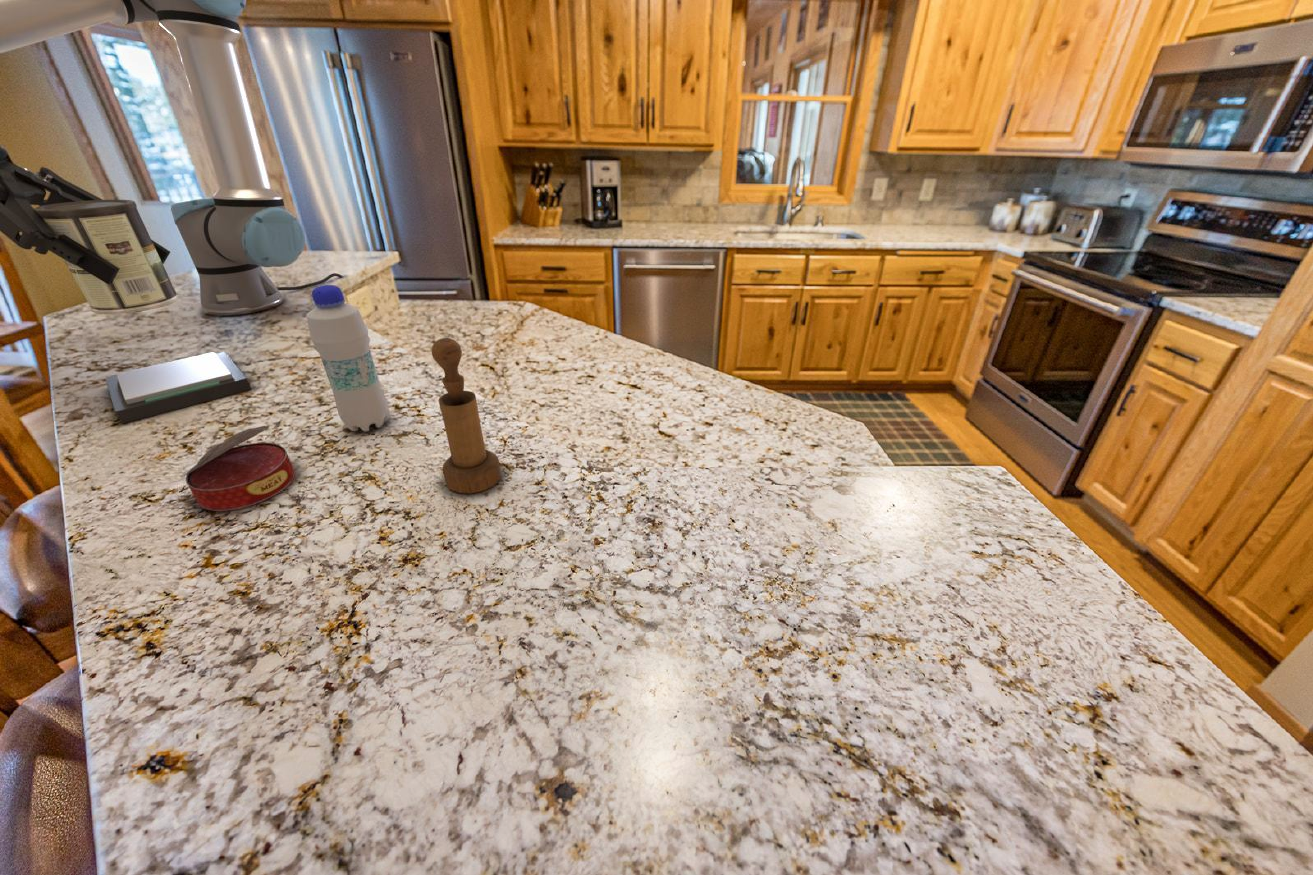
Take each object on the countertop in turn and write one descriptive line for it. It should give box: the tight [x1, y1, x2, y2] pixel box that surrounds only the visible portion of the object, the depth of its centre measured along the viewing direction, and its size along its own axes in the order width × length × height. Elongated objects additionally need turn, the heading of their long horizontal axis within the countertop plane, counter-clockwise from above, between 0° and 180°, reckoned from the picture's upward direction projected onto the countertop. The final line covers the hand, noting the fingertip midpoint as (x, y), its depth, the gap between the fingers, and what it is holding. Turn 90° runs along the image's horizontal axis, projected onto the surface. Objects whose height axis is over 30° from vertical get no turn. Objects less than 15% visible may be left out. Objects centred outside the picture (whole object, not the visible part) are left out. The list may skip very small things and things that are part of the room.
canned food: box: [179, 425, 296, 512], centre depth 62 cm, size 11×10×10 cm
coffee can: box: [33, 199, 180, 315], centre depth 77 cm, size 10×10×14 cm
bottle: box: [306, 284, 390, 432], centre depth 71 cm, size 7×7×20 cm
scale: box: [104, 351, 252, 425], centre depth 85 cm, size 16×16×3 cm
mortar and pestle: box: [431, 337, 502, 494], centre depth 61 cm, size 7×6×18 cm
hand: (141, 267), depth 78 cm, fingers closed on coffee can, 10 cm apart
